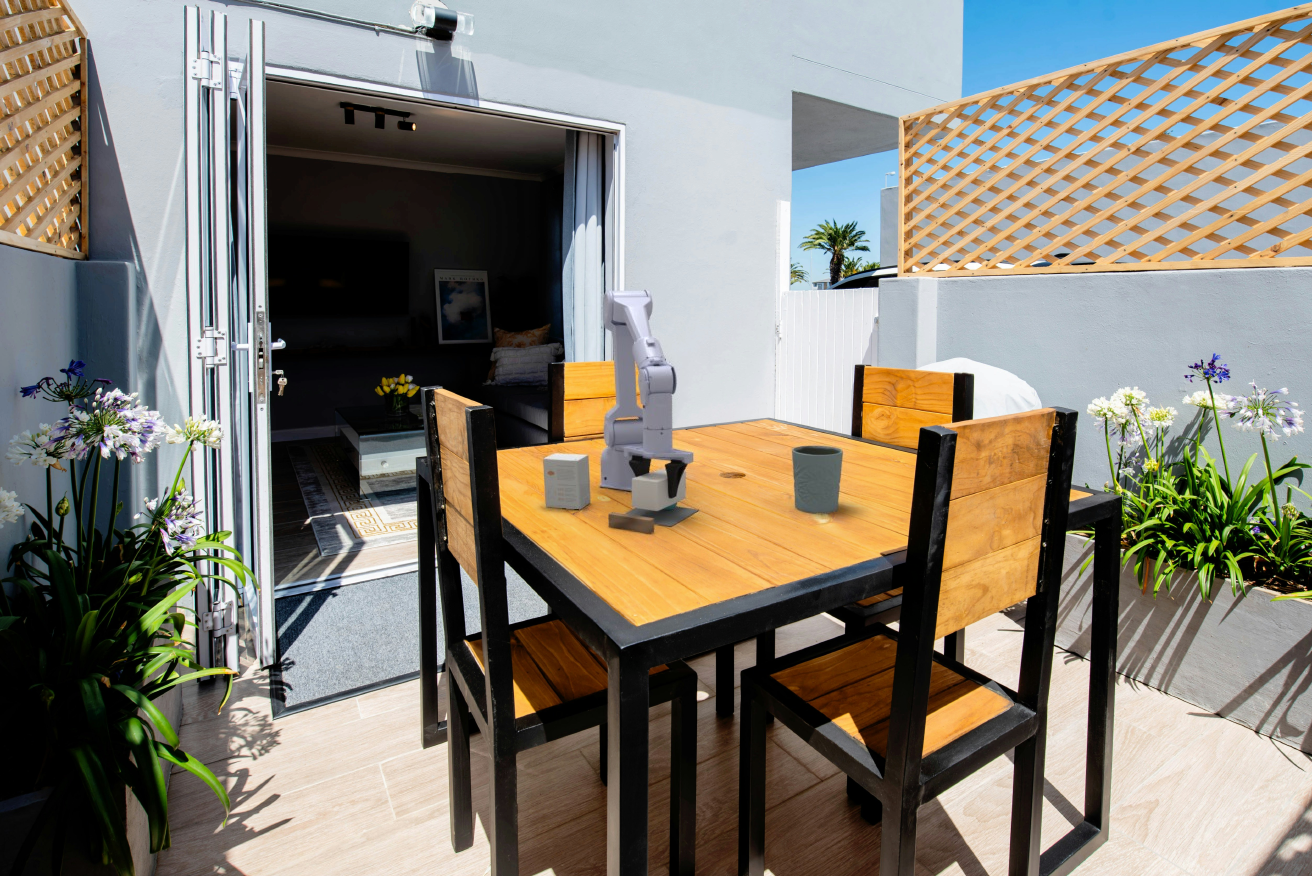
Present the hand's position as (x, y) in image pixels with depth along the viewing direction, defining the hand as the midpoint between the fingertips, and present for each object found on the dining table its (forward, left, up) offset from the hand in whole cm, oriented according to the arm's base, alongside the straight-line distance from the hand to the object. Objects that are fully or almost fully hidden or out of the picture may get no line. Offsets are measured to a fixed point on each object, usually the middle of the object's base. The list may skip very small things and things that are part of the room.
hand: (658, 495), depth 140 cm
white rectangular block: (0, 0, -2) cm, 2 cm away
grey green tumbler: (+26, +19, -4) cm, 32 cm away
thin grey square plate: (0, 0, -4) cm, 4 cm away
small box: (-20, -3, -4) cm, 21 cm away
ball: (0, +3, -2) cm, 4 cm away
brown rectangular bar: (0, -10, -4) cm, 11 cm away
